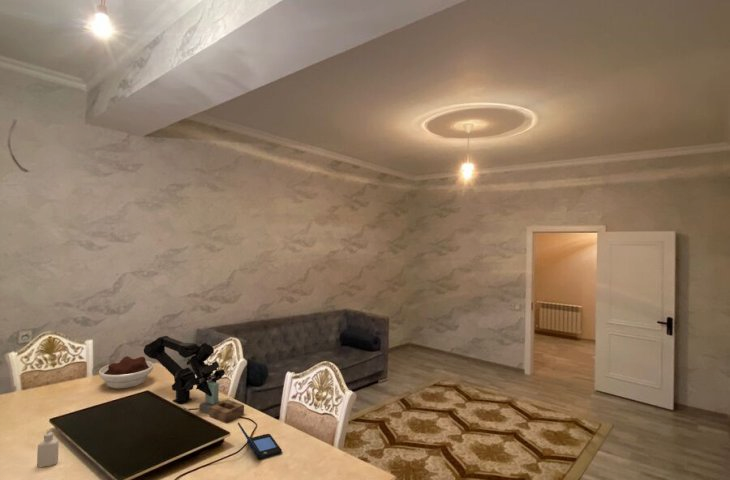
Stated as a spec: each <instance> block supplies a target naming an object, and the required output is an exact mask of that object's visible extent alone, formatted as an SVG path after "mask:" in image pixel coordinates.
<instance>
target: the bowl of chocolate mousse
mask: <svg viewBox="0 0 730 480" xmlns="http://www.w3.org/2000/svg"><path fill="white" fill-rule="evenodd" d="M154 365H155V364H154V363H153V362H152V361H149V360H146V358H145V357H144V356H140V357H137V358H132V357H130V356H128V355H127V356H124V357H122V358H121V360H120V361H118V362H113V363H110V364H107V365H105V366H103V367H102V368H100V369H99V371H98V375H99V378H101V380H103V381H104V383H105V385H106V386H107V387H108V388H112V389H127V388H133V387H136V386H139V385H141V384H142V383H144V382H145V381H146V379H147V377H148V376H149V375H150V374H151V372H152V371H153V369H154Z"/></svg>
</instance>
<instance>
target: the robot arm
mask: <svg viewBox="0 0 730 480" xmlns="http://www.w3.org/2000/svg"><path fill="white" fill-rule="evenodd" d="M166 348H167V349H170V350H172V351H175V352H177V353H178V355H179V356H180V357H182V358H184V359H187V358H188V359H187V362H186V366H188V365H190V366H191V367H185V368H183V367H182V366H180V364H178V363H177V362H176V361H175V359H173V358H172V357H171V356H170V355H169V354H168V353H167V352H166ZM214 352H215V350H214V347H213V346H212V345H210V344H207V343H206V342H203V343H202V344H201V345H200V346H199V345H198V344H197V343H196V342H195V343H194V342H184V341H180V340H177V339H175V338H172V337H169V336H168V335H163V336H160V337H158V338H156V339H155V340H153V341H152V342H150V343H148V344H146V345H145V346H144V348H143V353H144V355H145V356H146V357H148V358H150V359H153V360H155V361H157V362H159V364H160V365H162V367H164V368H165V369H166V370H167V371H168V372H169V373H170V374H171V375H172V376H173V377H174V383H173V384H172V385H171V389H172V391H174V392H175V399H173V400H172V402H174V403H176V404H178V405H182V404H185V403H188V402H190V401H192V400H193V398H191V392H190V391H191V390H193V389H194V386H196V387H195V389H196V390H199V391H201V392H203V393H204V394H207V395H209V396H210V397H211V396H212V394H211V391H210V389H209V387H208V385H207V382H208V381H213V382H216V383H217V381H219V380H221V379H222V378H223V377H224V376H225V375H226V371H225V369H223V368H221V369H218V368H220V364H219V362H218V361H217V360H216V361H213V362H211V364H208V363H207V364H206V361H207V360H208V359H210V357H211V356H212V355H213V354H214ZM191 369H192V370H191ZM214 371H215V372H214Z"/></svg>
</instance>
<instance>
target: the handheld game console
mask: <svg viewBox="0 0 730 480" xmlns="http://www.w3.org/2000/svg"><path fill="white" fill-rule="evenodd" d="M237 425H238V426H239V428H240V430H241V432H242V433H243V435H244V437H245V438H246V441H247V443H248V444H249V446H250V448H251V449H252V450H253V453H254V455H255V456H256V458H257V460H259V461H261V460H263V459H266V458H270V457H274V456H277V455H280V454H282V452H283V451H282V448H281V447H280V445H279V444H278V443H277V441H275V439H274V438H273V436H272V434H270V433H265V434H261V435H257V436H252V437H251V436H249V435H248V434H247V432H246V431H245V429H244V428H243V427H242V425H241V423H240V422H237Z"/></svg>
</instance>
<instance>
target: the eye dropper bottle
mask: <svg viewBox="0 0 730 480" xmlns="http://www.w3.org/2000/svg"><path fill="white" fill-rule="evenodd" d="M59 447H60V446H59V440H58V439H55V438H54V432H53V431H51V429H50V428H49V429H47V432H46V433H45V434H43V440H42V441H40V442H39V443H38V445H37V449H36V451H37V454H36V455H37V457H36V467H38V466H47V467H51V465H52V466H54V465H55V466H56V464H57V463H58V462H59Z"/></svg>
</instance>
